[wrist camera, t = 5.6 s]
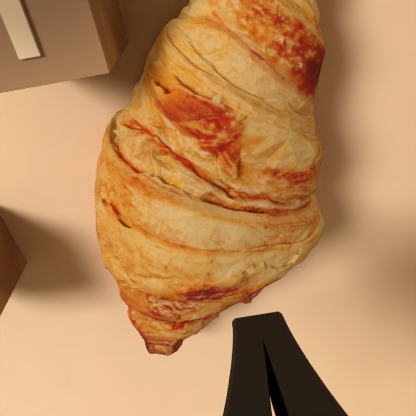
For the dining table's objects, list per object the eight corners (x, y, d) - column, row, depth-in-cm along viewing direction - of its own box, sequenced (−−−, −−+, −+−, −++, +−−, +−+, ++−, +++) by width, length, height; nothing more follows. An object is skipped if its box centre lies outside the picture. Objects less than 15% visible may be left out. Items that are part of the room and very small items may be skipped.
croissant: (203, -101, 16) (68, -207, 9) (454, -39, 13) (527, -119, 7) (126, 277, 26) (37, 360, 19) (260, 349, 24) (211, 471, 17)
